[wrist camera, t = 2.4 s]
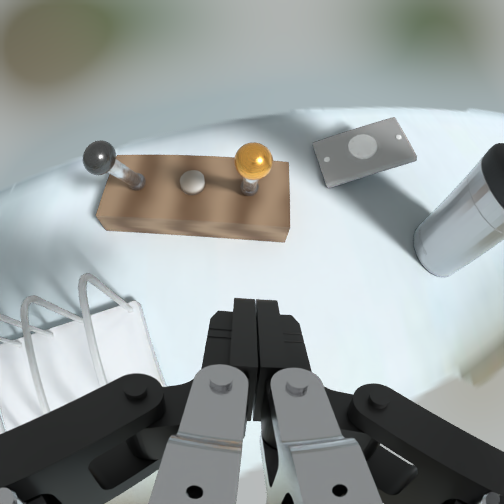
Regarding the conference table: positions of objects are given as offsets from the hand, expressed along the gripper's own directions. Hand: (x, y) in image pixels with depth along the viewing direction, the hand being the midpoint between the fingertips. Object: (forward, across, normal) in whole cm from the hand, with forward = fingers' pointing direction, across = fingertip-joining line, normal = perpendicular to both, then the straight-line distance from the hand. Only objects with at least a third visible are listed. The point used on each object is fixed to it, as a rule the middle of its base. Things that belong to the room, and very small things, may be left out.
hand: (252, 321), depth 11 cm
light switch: (+38, -17, -4) cm, 42 cm away
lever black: (+28, +14, 0) cm, 32 cm away
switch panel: (+31, +7, +3) cm, 32 cm away
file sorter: (+12, +20, +22) cm, 32 cm away
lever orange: (+28, 0, 0) cm, 28 cm away
